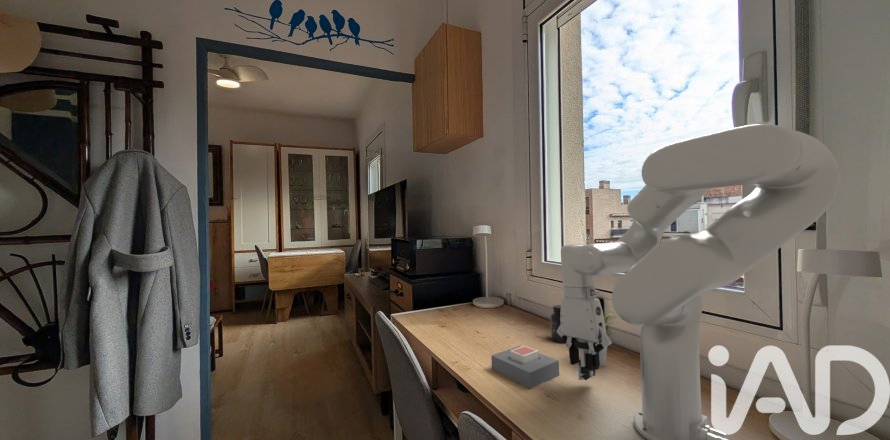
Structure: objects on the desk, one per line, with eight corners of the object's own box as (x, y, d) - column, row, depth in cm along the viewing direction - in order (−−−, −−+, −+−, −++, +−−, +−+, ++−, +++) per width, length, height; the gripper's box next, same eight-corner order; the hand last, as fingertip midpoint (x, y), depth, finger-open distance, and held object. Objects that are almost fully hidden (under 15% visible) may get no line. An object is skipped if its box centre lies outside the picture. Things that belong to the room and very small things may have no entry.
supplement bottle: (547, 338, 117) (546, 305, 117) (563, 336, 118) (562, 303, 119) (558, 344, 110) (557, 309, 110) (575, 342, 112) (574, 308, 112)
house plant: (637, 375, 86) (635, 314, 87) (586, 376, 86) (584, 315, 87) (609, 354, 101) (608, 302, 101) (566, 355, 100) (564, 303, 101)
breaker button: (538, 363, 89) (538, 350, 89) (524, 369, 86) (523, 356, 86) (524, 357, 93) (524, 345, 93) (510, 363, 90) (510, 350, 90)
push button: (590, 385, 75) (587, 342, 76) (569, 378, 79) (566, 337, 80) (601, 376, 80) (598, 335, 81) (580, 370, 84) (578, 331, 85)
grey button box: (559, 375, 87) (558, 360, 87) (530, 388, 80) (529, 372, 80) (520, 358, 99) (519, 345, 99) (491, 369, 92) (491, 355, 92)
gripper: (620, 294, 76) (626, 372, 75) (559, 288, 90) (563, 354, 89) (603, 298, 72) (610, 381, 71) (542, 291, 86) (547, 360, 85)
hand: (584, 365), depth 80 cm, fingers closed on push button, 4 cm apart
